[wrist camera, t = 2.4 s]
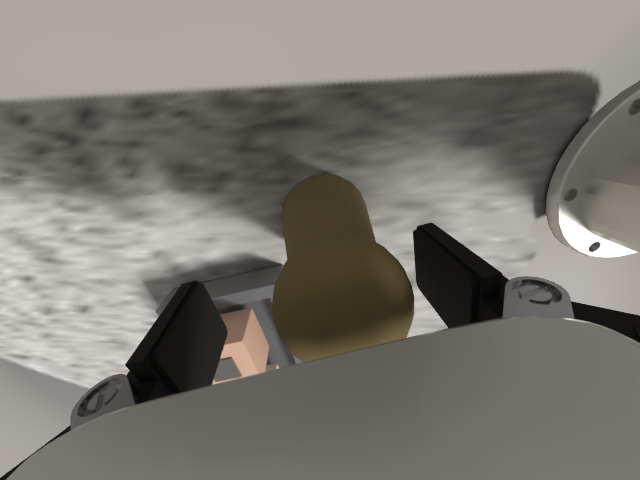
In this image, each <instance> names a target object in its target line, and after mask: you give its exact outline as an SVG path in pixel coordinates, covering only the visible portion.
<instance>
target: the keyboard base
mask: <svg viewBox="0 0 640 480" xmlns="http://www.w3.org/2000/svg"><path fill="white" fill-rule="evenodd" d="M282 268H283V264H282V265H278V266H273V267H269V268H265V269H260V270H256V271H251V272H247V273H242V274H238V275H233V276H229V277H225V278H220V279H216V280H211V281H207V282H202V283H203V284H204V286H205V288H206V290H207V292H208V293H209V295H210V297H211V299H212V301H213V303H214V305H215V306H216V308H217V310H218V312H219V314H220V315H221V314H225V313H230V312H234V311H239V310H244V309H248V308H252V309H253V311H254V313H255V316H256V318H257V320H258V322H259V325H260V327H261V329H262V331H263V333H264V336H265V338H266V340H267V342H268V345H269V351H268V357H267V363H266V365H270V364H275V363H277V365H278V367H279V368H283V367H287V366H291V365H295V364H299V363H303V361H301V360H300V359H298V358H296V357H295V356H294V355H293V353H292V352H291V351H290V350H289V349H288V348H287V346H286V345H285V344H284V342H283V341H282V340H281V338H280V337H279V335H278V332H277V329H276V326H275V323H274V319H273V314H272V301H273V291H274V286H275V282H276V280H277V278H278V276H279V274H280V272H281V270H282ZM178 289H179V288H176V289H173V290H172V291H171V292H170V293H169V295H168V296H167V297H166V298H165V300H164V301H163V302H162V304H161V305H160V306H159V307H158V309H157V310H156V312H157V314H158V315H159V316H160V314H161V313H162V312H163V310H164V309H165V307H166V306H167V304H168V303H169V302H170V300H171V299H172V297H173V296H174V294H175V293H176V291H177V290H178Z"/></svg>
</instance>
